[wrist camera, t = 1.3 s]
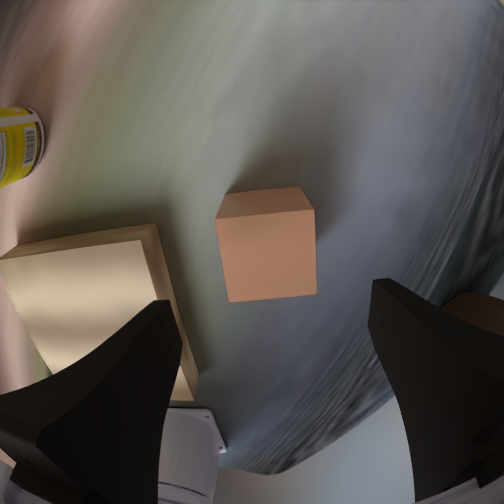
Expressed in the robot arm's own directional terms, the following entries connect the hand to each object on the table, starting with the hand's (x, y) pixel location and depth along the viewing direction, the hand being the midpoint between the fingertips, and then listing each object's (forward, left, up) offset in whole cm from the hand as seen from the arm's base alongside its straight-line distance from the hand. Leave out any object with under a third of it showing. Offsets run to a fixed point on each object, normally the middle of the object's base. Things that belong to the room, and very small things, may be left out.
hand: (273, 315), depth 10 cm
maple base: (-6, +14, -9) cm, 18 cm away
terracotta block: (0, 0, -10) cm, 10 cm away
